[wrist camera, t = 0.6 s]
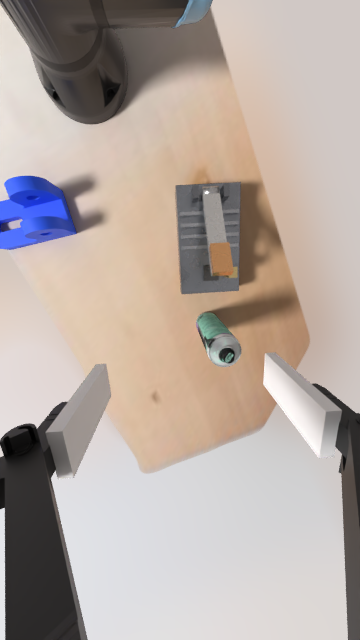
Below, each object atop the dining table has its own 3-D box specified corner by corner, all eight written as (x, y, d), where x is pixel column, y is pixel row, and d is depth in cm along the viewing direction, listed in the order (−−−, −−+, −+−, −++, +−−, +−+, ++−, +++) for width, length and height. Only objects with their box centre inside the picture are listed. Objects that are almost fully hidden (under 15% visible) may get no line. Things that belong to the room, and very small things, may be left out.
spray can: (194, 332, 51) (208, 373, 32) (197, 310, 50) (213, 339, 31) (216, 334, 52) (243, 376, 32) (220, 313, 50) (250, 343, 31)
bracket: (62, 190, 43) (34, 172, 34) (77, 233, 45) (54, 226, 36) (-22, 212, 43) (-71, 199, 34) (-4, 253, 45) (-46, 251, 36)
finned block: (175, 194, 43) (176, 177, 35) (232, 191, 44) (247, 173, 35) (180, 291, 49) (182, 296, 40) (232, 288, 49) (244, 293, 40)
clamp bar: (201, 193, 38) (202, 180, 36) (217, 192, 38) (220, 179, 36) (211, 280, 34) (213, 272, 31) (229, 279, 34) (233, 271, 31)
